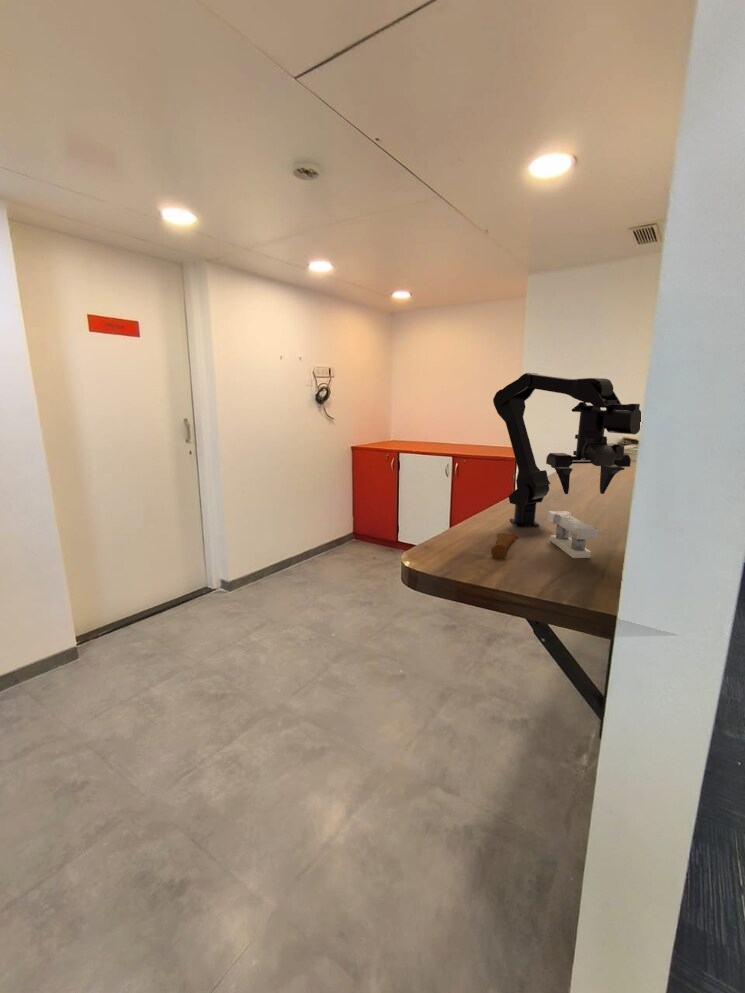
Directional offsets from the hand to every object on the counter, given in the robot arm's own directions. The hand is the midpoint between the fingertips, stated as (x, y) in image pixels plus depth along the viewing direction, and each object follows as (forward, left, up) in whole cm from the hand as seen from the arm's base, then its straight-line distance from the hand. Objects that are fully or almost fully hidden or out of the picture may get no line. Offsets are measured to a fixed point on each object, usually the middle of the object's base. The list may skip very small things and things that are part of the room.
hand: (584, 493), depth 111 cm
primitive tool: (+3, -21, -13) cm, 25 cm away
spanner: (+7, -6, -7) cm, 12 cm away
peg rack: (+7, -6, -12) cm, 15 cm away
